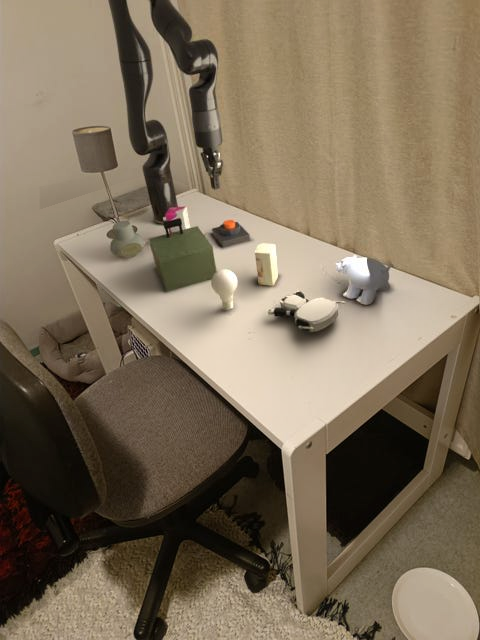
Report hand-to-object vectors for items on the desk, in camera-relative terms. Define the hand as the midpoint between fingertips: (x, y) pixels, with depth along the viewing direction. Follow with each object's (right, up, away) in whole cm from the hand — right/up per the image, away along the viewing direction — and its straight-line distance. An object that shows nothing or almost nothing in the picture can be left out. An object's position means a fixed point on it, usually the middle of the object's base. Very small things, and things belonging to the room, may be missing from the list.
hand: (215, 188), depth 130 cm
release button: (+4, -9, +10) cm, 14 cm away
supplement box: (-11, -14, +13) cm, 22 cm away
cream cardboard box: (+15, -29, -11) cm, 34 cm away
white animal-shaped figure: (+38, -31, -19) cm, 53 cm away
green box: (-9, -25, -3) cm, 27 cm away
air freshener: (-28, -18, +11) cm, 35 cm away
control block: (+4, -12, +12) cm, 18 cm away
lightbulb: (+4, -36, -19) cm, 41 cm away
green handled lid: (-10, -18, -8) cm, 22 cm away
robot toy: (+23, -39, -26) cm, 52 cm away
